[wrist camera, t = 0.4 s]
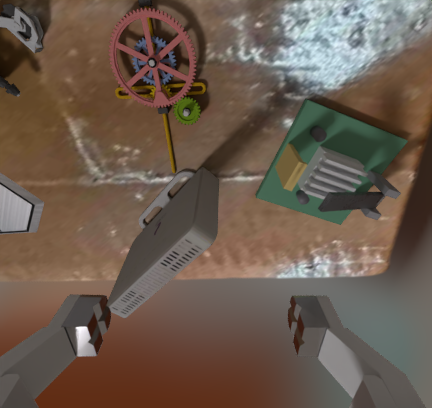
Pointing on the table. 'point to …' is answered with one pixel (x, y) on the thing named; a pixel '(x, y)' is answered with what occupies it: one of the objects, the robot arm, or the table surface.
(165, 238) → the network device
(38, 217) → the security device
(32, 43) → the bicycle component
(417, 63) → the table surface
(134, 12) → the mechanical gear assembly
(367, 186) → the board
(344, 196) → the strap
